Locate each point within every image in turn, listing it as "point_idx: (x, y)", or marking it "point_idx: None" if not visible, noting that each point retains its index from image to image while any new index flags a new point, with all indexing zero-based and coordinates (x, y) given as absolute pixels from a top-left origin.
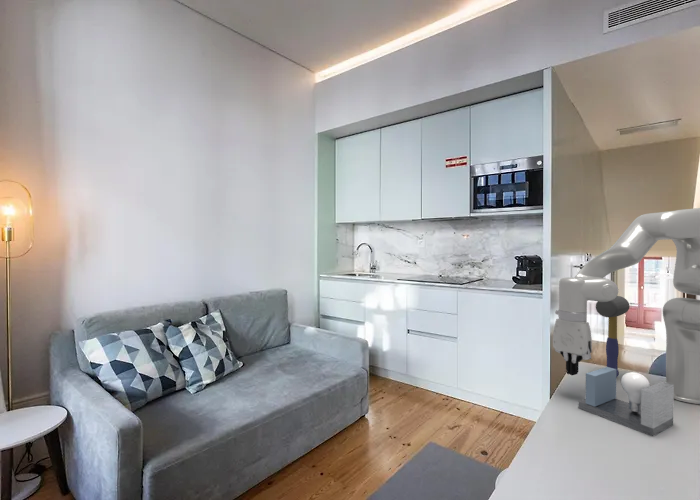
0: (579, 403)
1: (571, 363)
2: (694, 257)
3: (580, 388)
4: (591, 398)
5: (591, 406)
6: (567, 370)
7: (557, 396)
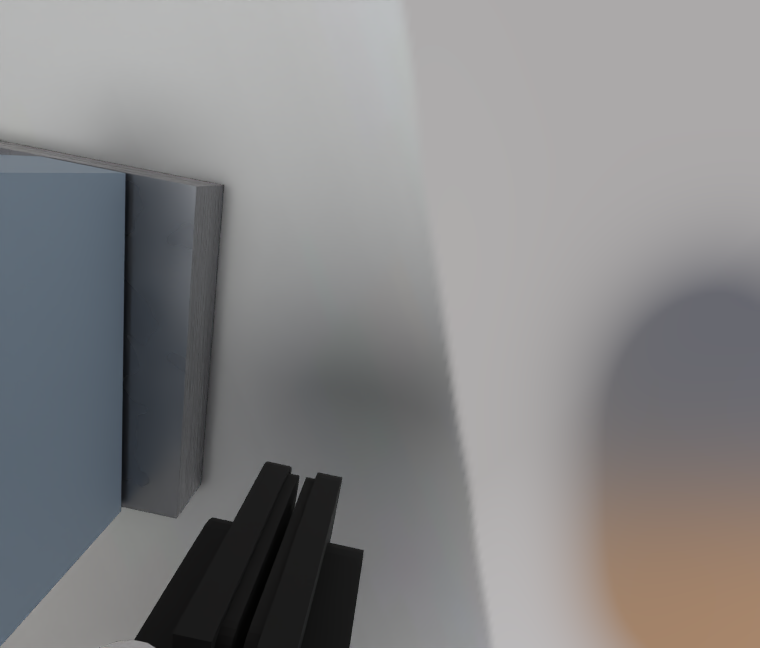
0: (195, 185)
1: (186, 620)
2: None
3: (372, 601)
4: (15, 162)
5: (79, 163)
6: (320, 506)
7: (439, 313)
